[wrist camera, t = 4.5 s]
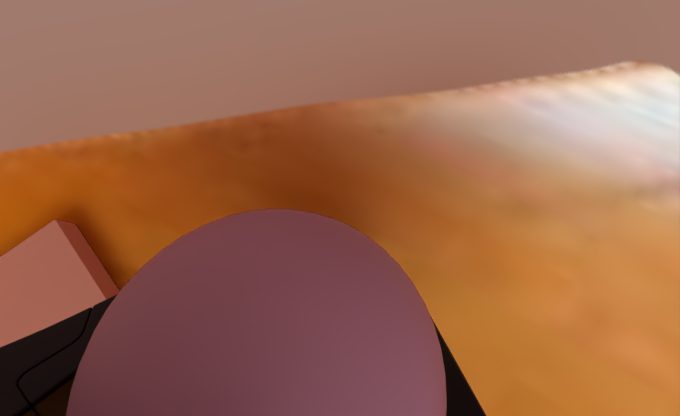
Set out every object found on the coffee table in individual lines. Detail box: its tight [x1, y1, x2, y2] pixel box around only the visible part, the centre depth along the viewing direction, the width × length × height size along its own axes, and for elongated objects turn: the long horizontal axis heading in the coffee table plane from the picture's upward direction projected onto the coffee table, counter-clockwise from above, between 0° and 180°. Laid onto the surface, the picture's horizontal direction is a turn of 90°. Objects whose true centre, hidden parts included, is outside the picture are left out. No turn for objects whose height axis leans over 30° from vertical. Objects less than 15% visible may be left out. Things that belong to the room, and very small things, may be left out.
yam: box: [66, 209, 447, 416], centre depth 9 cm, size 5×5×13 cm
